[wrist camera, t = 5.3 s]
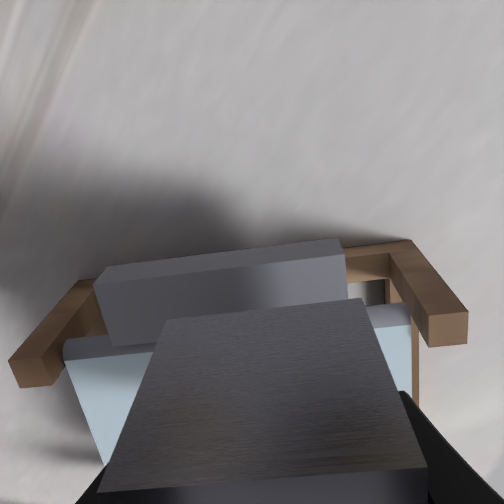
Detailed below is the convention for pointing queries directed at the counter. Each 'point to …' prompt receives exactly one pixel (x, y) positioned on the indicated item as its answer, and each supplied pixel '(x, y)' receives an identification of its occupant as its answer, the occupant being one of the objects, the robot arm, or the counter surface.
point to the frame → (357, 269)
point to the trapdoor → (201, 304)
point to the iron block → (268, 415)
